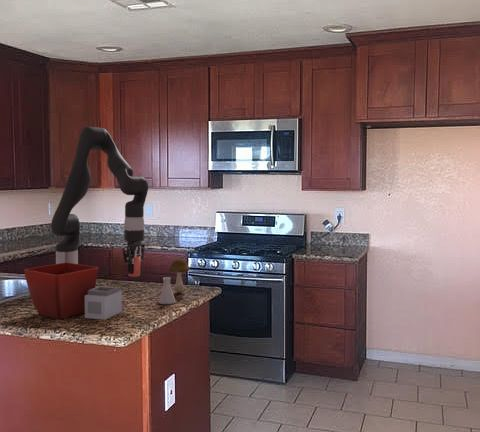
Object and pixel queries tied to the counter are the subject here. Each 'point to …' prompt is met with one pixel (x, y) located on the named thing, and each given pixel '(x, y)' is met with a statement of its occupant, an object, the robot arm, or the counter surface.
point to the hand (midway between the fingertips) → (134, 272)
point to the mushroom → (179, 273)
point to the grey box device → (103, 302)
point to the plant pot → (60, 288)
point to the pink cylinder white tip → (136, 267)
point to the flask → (166, 293)
